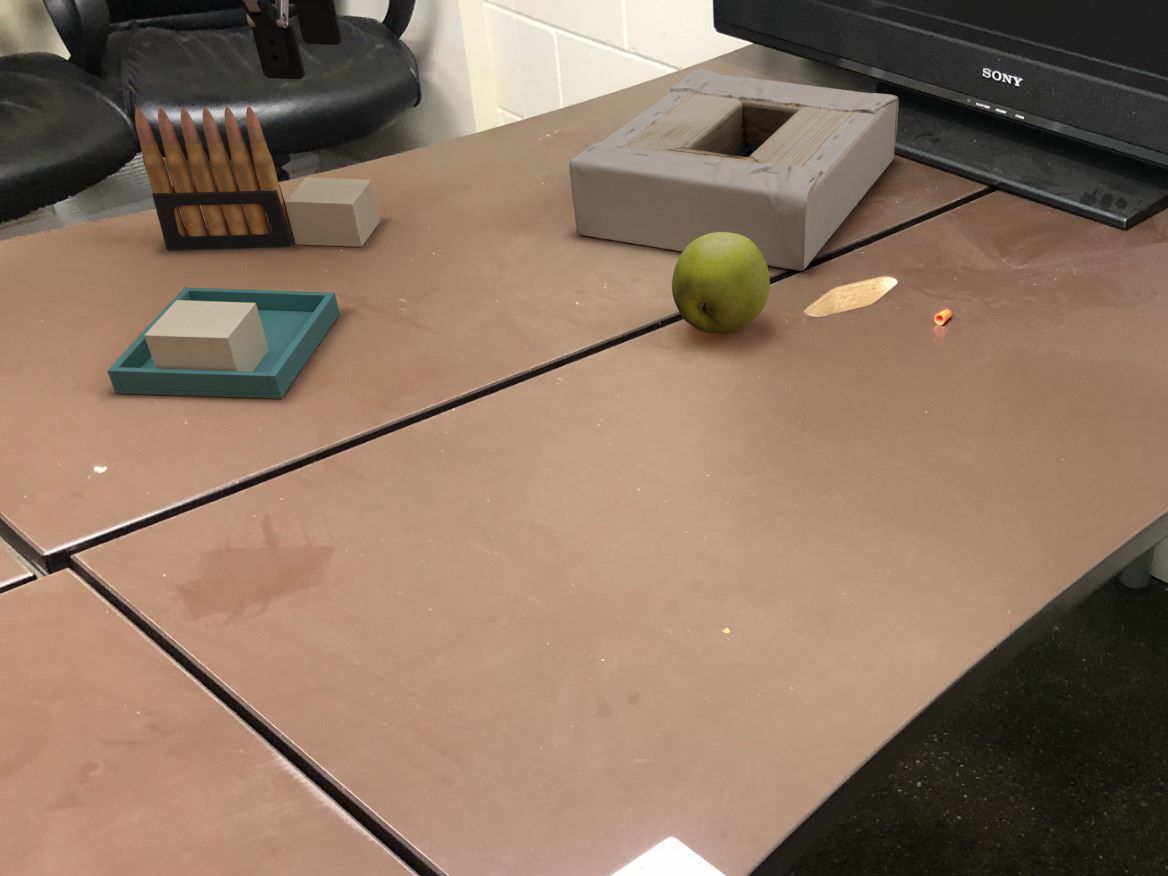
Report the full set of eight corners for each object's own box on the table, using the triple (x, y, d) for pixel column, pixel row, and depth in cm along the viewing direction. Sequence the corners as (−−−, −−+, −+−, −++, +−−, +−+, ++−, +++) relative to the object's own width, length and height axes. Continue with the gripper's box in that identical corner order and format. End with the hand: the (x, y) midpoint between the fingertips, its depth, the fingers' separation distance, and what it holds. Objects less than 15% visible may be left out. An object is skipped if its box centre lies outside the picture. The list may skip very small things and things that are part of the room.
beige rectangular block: (295, 244, 121) (283, 201, 119) (315, 219, 126) (305, 177, 123) (362, 247, 121) (352, 203, 119) (380, 221, 126) (371, 179, 123)
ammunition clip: (296, 238, 122) (262, 103, 114) (293, 246, 121) (258, 109, 113) (170, 242, 120) (127, 104, 113) (166, 250, 119) (122, 111, 111)
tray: (115, 393, 99) (106, 370, 98) (190, 308, 111) (183, 286, 109) (281, 398, 100) (275, 375, 99) (340, 313, 111) (334, 292, 110)
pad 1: (160, 384, 100) (143, 334, 97) (191, 347, 105) (176, 299, 102) (242, 386, 100) (227, 337, 98) (269, 350, 105) (256, 302, 102)
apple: (784, 313, 115) (783, 222, 110) (748, 359, 108) (745, 265, 103) (700, 299, 116) (695, 209, 111) (658, 344, 110) (651, 250, 104)
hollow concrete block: (810, 276, 121) (897, 159, 145) (809, 191, 116) (900, 85, 140) (574, 244, 125) (697, 135, 149) (563, 160, 120) (692, 62, 144)
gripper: (240, -197, 108) (294, 30, 119) (151, -161, 95) (221, 90, 106) (334, -193, 108) (379, 33, 119) (258, -156, 95) (317, 94, 106)
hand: (304, 59), depth 113 cm, fingers open, 9 cm apart
